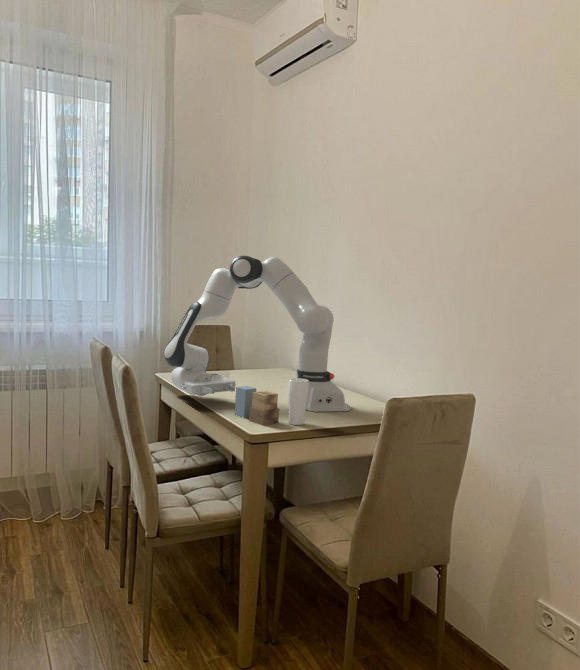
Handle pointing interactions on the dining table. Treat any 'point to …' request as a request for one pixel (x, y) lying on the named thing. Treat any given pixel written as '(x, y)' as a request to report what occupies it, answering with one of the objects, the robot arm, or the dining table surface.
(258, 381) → the dining table surface
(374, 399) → the dining table surface
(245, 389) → the pillar
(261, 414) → the tower base
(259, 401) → the tower top
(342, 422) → the dining table surface
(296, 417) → the drinking glass
